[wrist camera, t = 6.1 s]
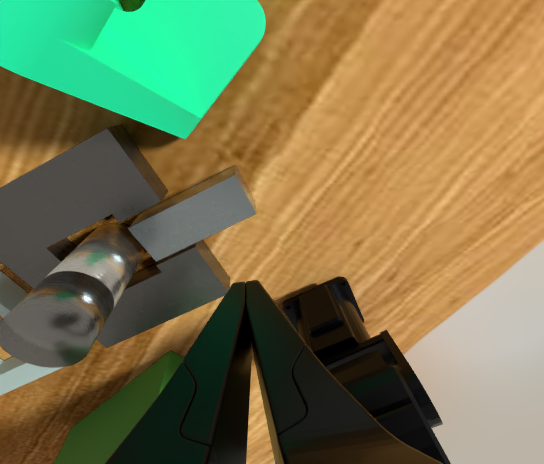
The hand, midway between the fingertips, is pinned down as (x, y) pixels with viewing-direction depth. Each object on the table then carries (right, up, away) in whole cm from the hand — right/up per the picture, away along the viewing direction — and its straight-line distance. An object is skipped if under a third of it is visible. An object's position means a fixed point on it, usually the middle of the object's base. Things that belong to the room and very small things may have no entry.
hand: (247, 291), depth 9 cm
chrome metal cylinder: (-11, +1, +12) cm, 16 cm away
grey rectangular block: (-5, +4, +11) cm, 13 cm away
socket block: (-11, +1, +12) cm, 16 cm away
